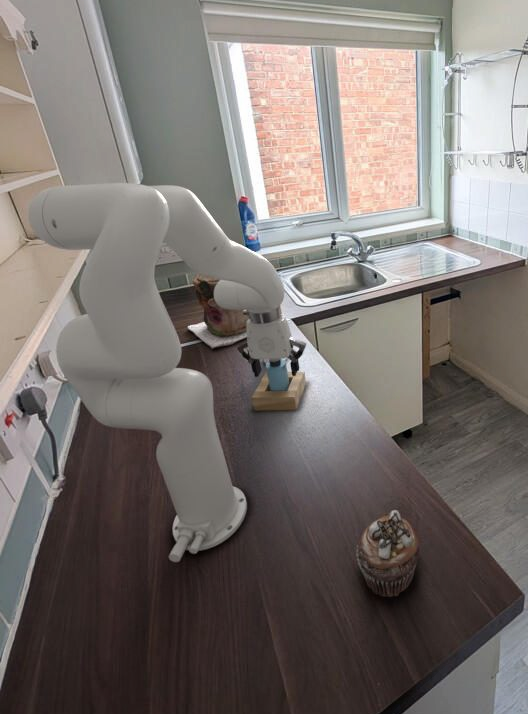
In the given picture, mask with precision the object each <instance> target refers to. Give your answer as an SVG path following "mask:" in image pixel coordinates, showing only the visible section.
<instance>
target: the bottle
mask: <svg viewBox="0 0 528 714" xmlns="http://www.w3.org/2000/svg"><path fill="white" fill-rule="evenodd" d="M265 370H266V373H267V376H268V380H269V385H270V390H271V391H287V390H288V388H289V385H290V383H289V378H288V372H289V371H288V368H287V362H286V360H284V359H269V362H268V363H267V364H266V363H265Z"/></svg>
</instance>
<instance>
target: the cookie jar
mask: <svg viewBox="0 0 528 714" xmlns="http://www.w3.org/2000/svg"><path fill="white" fill-rule="evenodd" d="M219 281H220V279H216V278H212V277H209V276H205V275H202V274H199V273H197V275H196V276H195V277H194V278H193V280H192V284H193V286H194V288H195V297H196V300H197V301H198V304H199V306H201V307H202V308H203V322H202V321H201V322H199V323H196V324H190V325H188V326H187V329H188V330H189V331H191V332H192V333H193V334H194V335H195V336H196V337H198V338H199V339H200V340H201V341H202V342H204V343H205V344H206V345H207V346H208V347H210V348H211V349H212V350H213V349H215V348H219V347H224V346H230V345H233V344H235V343H237V342H239V341H241V340H244V339H247V321H248V320H249V317H248V316H247V315H243V310H228V309H224V308H222V307H220V306H219V305H218V304H217V303H216V301H215V299H214V289H215V286H216V284H217V283H218V282H219Z"/></svg>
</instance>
